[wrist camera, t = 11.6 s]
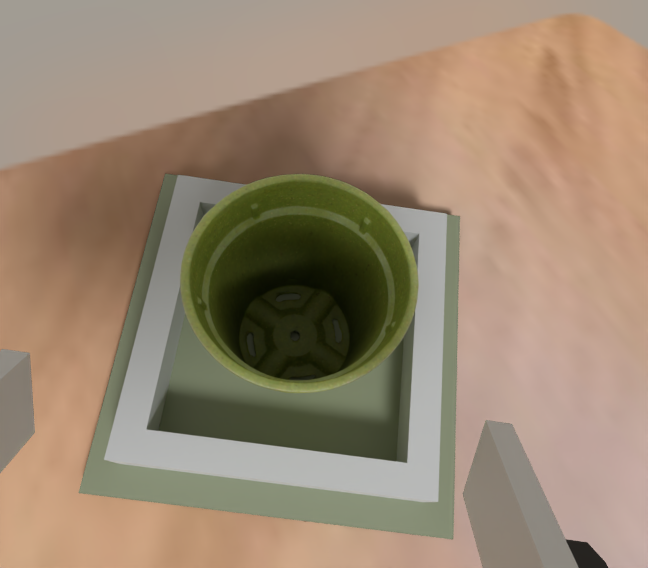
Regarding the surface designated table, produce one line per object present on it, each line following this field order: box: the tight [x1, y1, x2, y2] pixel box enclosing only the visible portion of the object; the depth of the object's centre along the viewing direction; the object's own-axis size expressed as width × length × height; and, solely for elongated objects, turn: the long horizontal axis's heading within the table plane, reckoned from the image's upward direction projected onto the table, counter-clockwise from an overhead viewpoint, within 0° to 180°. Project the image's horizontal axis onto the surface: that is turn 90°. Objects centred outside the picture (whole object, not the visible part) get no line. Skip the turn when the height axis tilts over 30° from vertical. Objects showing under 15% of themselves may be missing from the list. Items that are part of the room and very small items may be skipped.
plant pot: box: [180, 174, 419, 393], centre depth 25 cm, size 9×9×9 cm
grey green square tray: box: [79, 174, 460, 539], centre depth 29 cm, size 18×18×4 cm
